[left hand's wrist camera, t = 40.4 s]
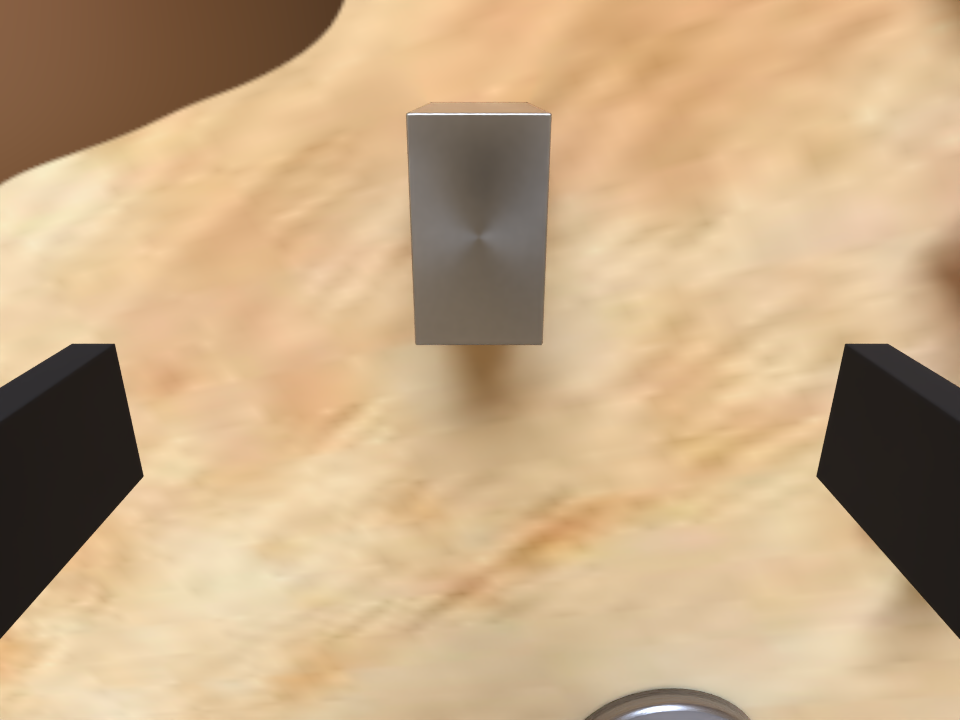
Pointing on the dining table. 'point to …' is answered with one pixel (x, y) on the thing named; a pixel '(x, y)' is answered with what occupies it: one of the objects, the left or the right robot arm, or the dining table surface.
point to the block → (478, 221)
